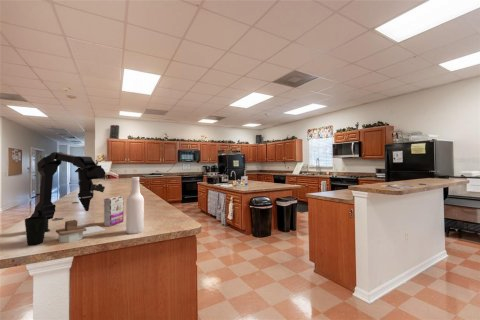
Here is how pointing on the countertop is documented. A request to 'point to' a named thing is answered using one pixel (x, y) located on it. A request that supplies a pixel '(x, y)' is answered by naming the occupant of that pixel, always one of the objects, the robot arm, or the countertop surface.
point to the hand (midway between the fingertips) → (87, 210)
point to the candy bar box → (113, 210)
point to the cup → (35, 230)
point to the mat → (93, 230)
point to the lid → (70, 228)
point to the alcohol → (135, 209)
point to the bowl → (70, 237)
